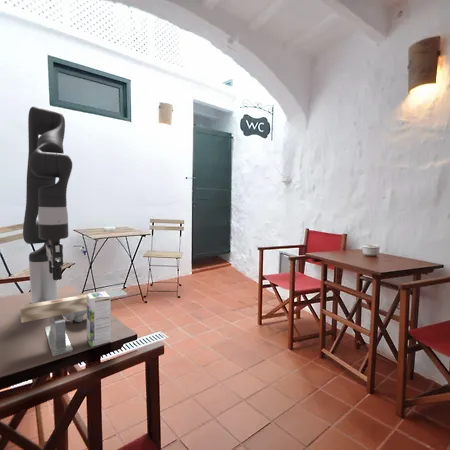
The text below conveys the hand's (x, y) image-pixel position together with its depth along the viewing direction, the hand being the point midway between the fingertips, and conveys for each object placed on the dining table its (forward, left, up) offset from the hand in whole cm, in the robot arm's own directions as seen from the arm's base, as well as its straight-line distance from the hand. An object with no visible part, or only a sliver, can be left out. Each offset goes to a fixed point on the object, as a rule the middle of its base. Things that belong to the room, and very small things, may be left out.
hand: (55, 276), depth 87 cm
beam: (0, 0, -12) cm, 12 cm away
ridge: (0, 0, -20) cm, 20 cm away
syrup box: (+8, +10, -20) cm, 24 cm away
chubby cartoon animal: (-11, +10, -20) cm, 25 cm away
